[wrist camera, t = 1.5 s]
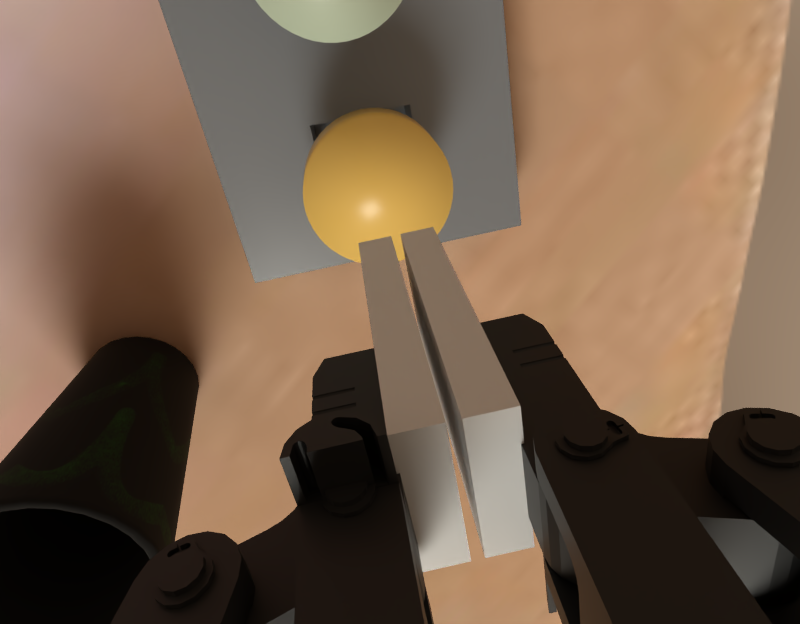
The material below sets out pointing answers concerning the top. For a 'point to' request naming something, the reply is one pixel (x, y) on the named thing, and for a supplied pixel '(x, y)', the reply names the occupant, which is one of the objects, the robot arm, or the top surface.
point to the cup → (96, 485)
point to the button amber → (375, 181)
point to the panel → (345, 111)
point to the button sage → (329, 17)
